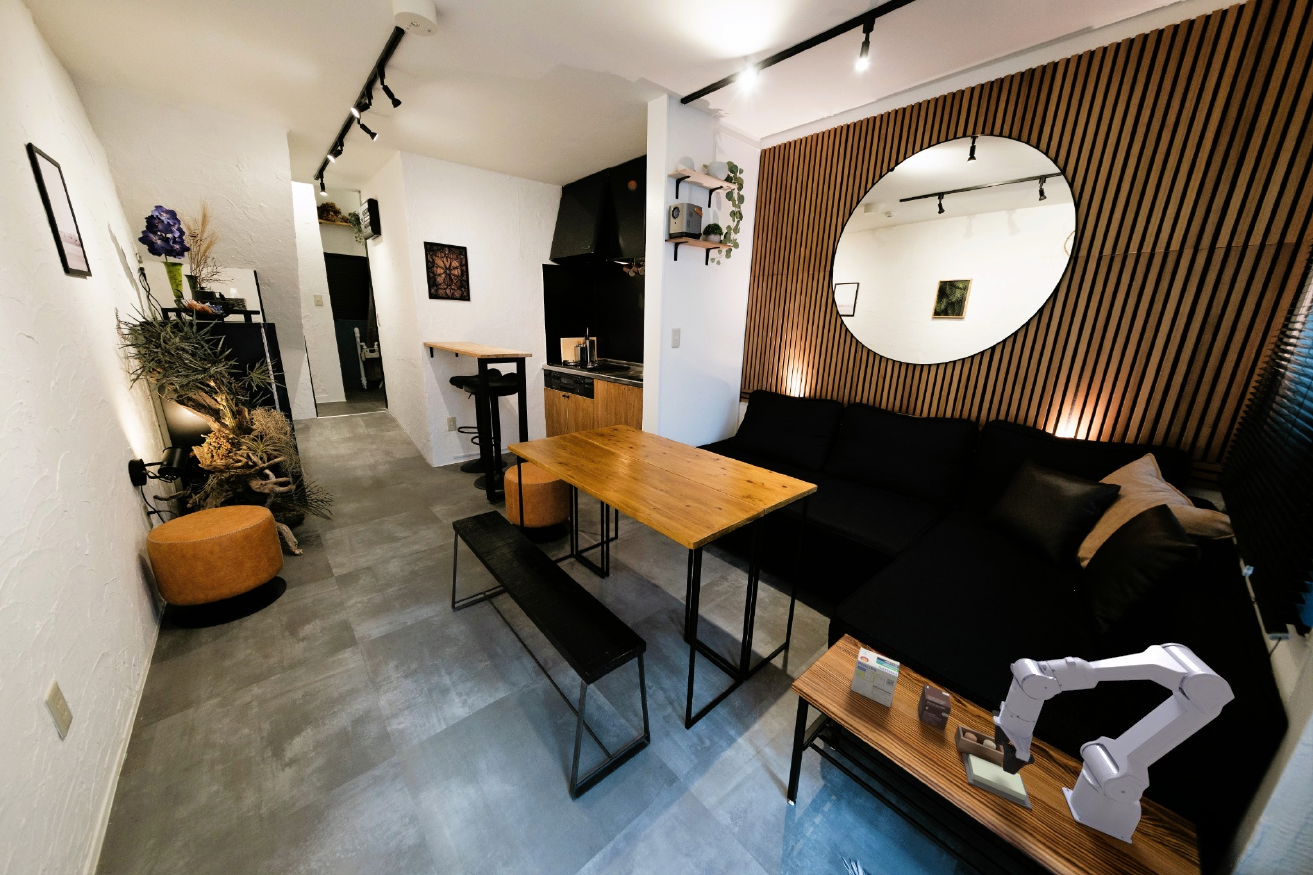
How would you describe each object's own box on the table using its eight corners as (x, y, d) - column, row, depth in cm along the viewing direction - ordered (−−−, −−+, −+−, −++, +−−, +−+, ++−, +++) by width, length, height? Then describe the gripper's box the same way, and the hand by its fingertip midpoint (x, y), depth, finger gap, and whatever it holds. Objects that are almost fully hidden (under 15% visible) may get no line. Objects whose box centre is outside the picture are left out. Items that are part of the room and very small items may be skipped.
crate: (996, 752, 111) (1000, 740, 110) (1000, 767, 107) (1005, 755, 106) (954, 736, 114) (958, 724, 113) (957, 750, 110) (961, 738, 109)
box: (918, 720, 118) (925, 698, 116) (917, 703, 124) (923, 682, 122) (944, 730, 116) (951, 708, 114) (942, 713, 121) (949, 692, 119)
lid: (1017, 779, 104) (1019, 774, 104) (1024, 800, 99) (1026, 795, 99) (967, 758, 108) (969, 753, 108) (972, 778, 103) (973, 773, 103)
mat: (1021, 777, 105) (1021, 776, 105) (1031, 809, 98) (1032, 808, 98) (962, 754, 110) (962, 752, 109) (968, 782, 103) (968, 781, 102)
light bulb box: (892, 692, 127) (900, 662, 124) (890, 708, 121) (899, 677, 118) (853, 675, 132) (860, 645, 129) (849, 690, 127) (856, 659, 124)
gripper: (991, 681, 106) (977, 725, 110) (1007, 728, 93) (990, 776, 97) (1027, 693, 103) (1011, 738, 107) (1049, 743, 91) (1030, 792, 94)
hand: (1004, 757), depth 102 cm, fingers open, 7 cm apart
